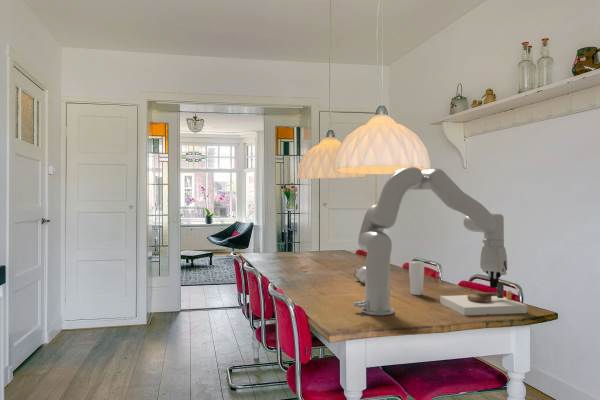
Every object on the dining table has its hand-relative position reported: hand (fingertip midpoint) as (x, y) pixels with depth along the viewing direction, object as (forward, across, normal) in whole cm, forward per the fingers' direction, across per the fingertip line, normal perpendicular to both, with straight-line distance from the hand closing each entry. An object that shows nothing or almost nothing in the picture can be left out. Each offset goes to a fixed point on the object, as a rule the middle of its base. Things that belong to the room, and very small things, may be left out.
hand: (494, 287), depth 186 cm
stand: (+7, 0, -8) cm, 11 cm away
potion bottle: (+7, -65, -18) cm, 68 cm away
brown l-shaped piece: (+4, +1, -6) cm, 8 cm away
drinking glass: (+7, -32, -13) cm, 35 cm away
